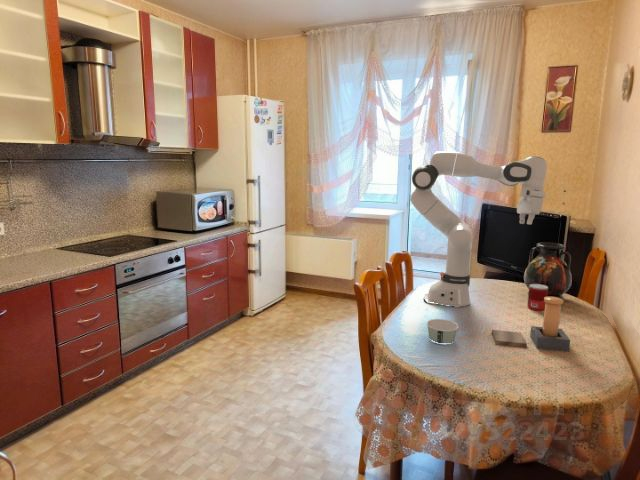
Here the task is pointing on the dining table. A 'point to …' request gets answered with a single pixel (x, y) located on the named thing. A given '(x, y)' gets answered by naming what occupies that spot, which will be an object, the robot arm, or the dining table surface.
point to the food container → (442, 330)
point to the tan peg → (551, 316)
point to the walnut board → (509, 338)
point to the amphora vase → (549, 269)
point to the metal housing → (549, 340)
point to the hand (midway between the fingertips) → (525, 223)
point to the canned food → (537, 297)
